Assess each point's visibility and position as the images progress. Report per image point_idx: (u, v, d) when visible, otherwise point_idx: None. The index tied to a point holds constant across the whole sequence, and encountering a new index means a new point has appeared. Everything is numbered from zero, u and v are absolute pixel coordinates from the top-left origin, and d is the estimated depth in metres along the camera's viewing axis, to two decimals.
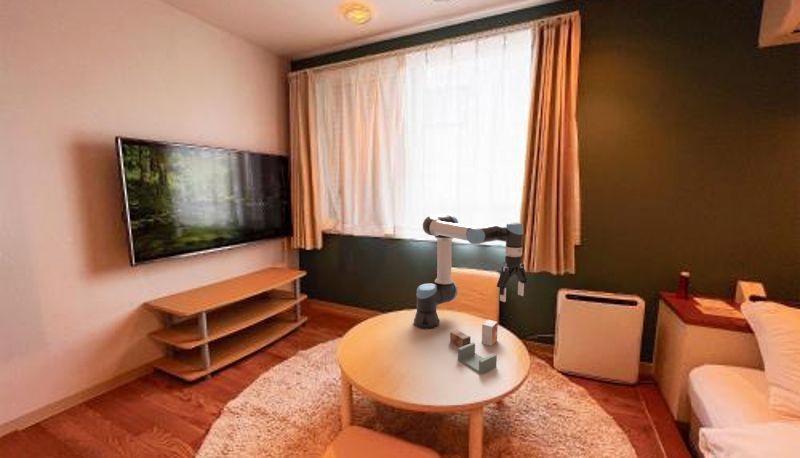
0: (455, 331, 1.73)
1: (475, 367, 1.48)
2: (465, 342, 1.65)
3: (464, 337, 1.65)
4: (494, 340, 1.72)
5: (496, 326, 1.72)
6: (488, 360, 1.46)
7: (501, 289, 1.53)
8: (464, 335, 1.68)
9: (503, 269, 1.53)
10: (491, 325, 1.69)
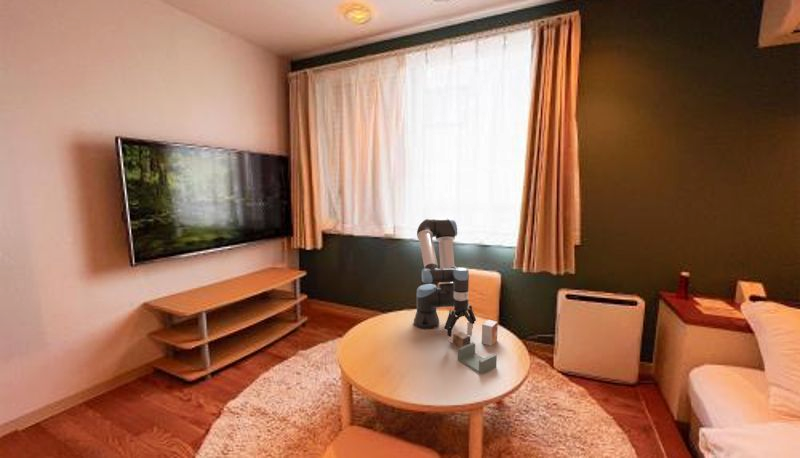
0: (455, 331, 1.73)
1: (475, 367, 1.48)
2: (465, 342, 1.65)
3: (464, 337, 1.65)
4: (494, 340, 1.72)
5: (496, 326, 1.72)
6: (488, 360, 1.46)
7: (448, 331, 1.64)
8: (464, 335, 1.68)
9: (450, 312, 1.63)
10: (491, 325, 1.69)
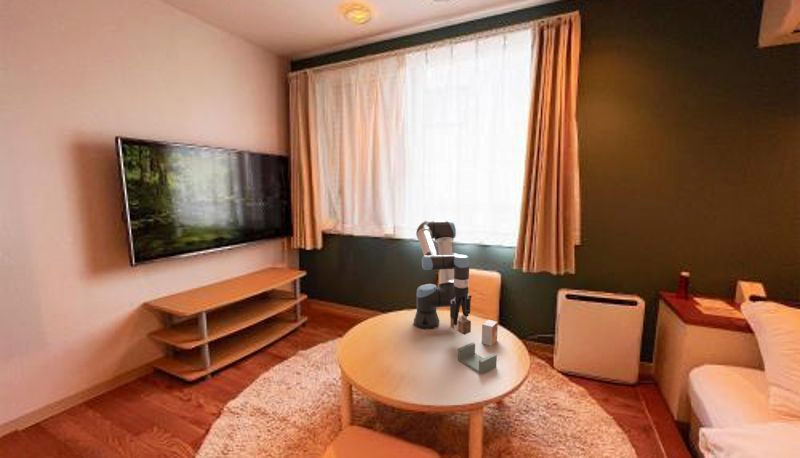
0: None
1: (475, 367, 1.48)
2: (465, 326, 1.64)
3: (464, 322, 1.65)
4: (494, 340, 1.72)
5: (496, 326, 1.72)
6: (488, 360, 1.46)
7: (454, 320, 1.66)
8: (464, 319, 1.67)
9: (451, 302, 1.63)
10: (491, 325, 1.69)
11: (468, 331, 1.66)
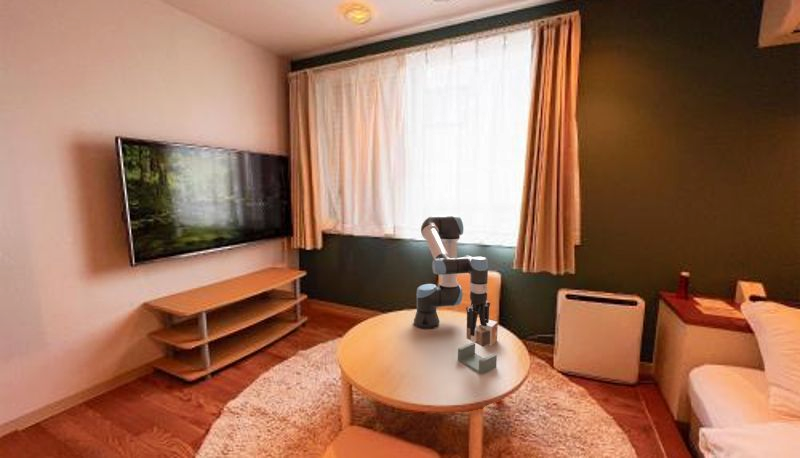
0: None
1: (475, 367, 1.48)
2: (484, 337, 1.46)
3: (483, 332, 1.46)
4: (494, 340, 1.72)
5: (496, 326, 1.72)
6: (488, 360, 1.46)
7: (471, 330, 1.48)
8: (483, 329, 1.49)
9: (468, 310, 1.45)
10: (491, 325, 1.69)
11: (487, 342, 1.47)
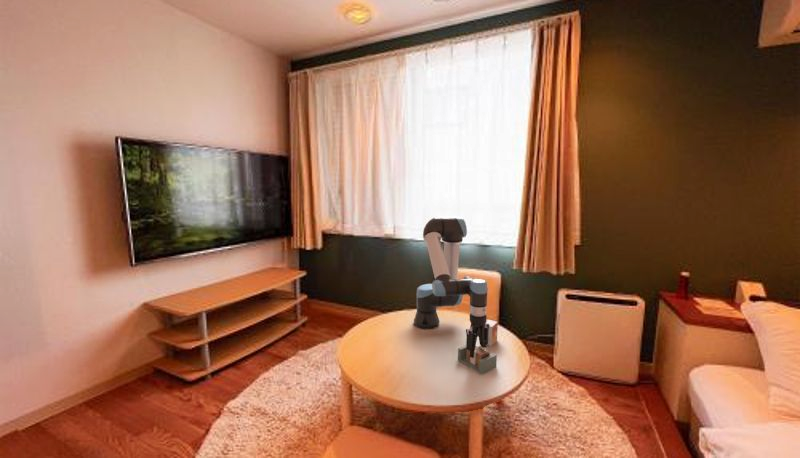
0: None
1: (475, 367, 1.48)
2: None
3: (483, 354, 1.48)
4: (494, 340, 1.72)
5: (496, 326, 1.72)
6: (488, 360, 1.46)
7: (471, 352, 1.49)
8: (482, 351, 1.50)
9: (467, 332, 1.47)
10: (491, 325, 1.69)
11: None
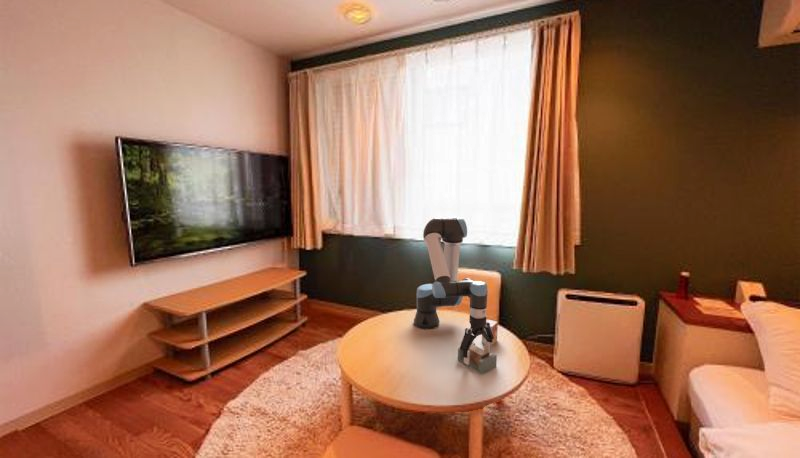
0: (472, 346, 1.55)
1: (475, 367, 1.48)
2: None
3: (483, 354, 1.48)
4: (494, 340, 1.72)
5: (496, 326, 1.72)
6: (488, 360, 1.46)
7: (464, 352, 1.47)
8: (482, 351, 1.50)
9: (467, 331, 1.47)
10: (491, 325, 1.69)
11: None
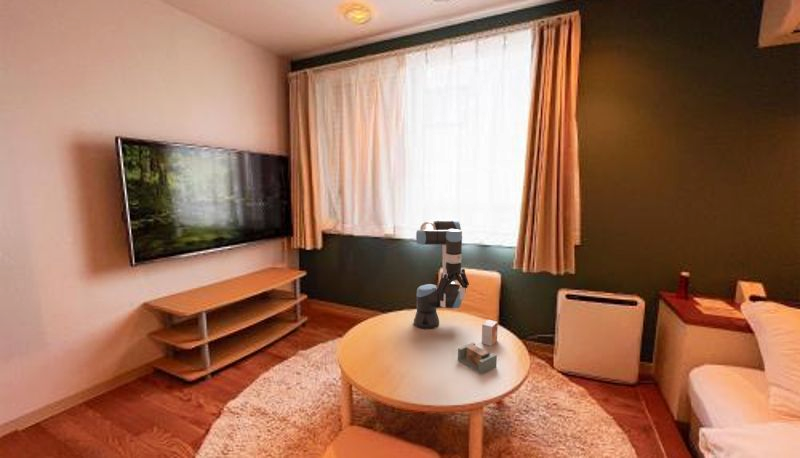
0: (472, 346, 1.55)
1: (475, 367, 1.48)
2: None
3: (483, 354, 1.48)
4: (494, 340, 1.72)
5: (496, 326, 1.72)
6: (488, 360, 1.46)
7: (440, 295, 1.56)
8: (482, 351, 1.50)
9: (443, 275, 1.55)
10: (491, 325, 1.69)
11: None
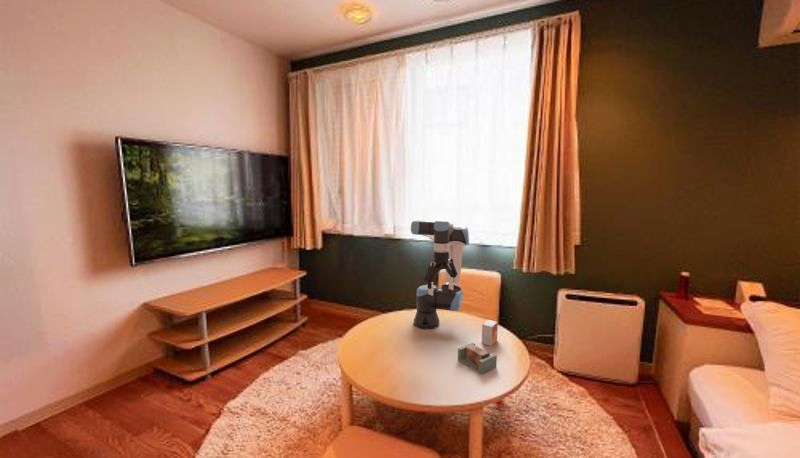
0: (472, 346, 1.55)
1: (475, 367, 1.48)
2: None
3: (483, 354, 1.48)
4: (494, 340, 1.72)
5: (496, 326, 1.72)
6: (488, 360, 1.46)
7: (428, 283, 1.61)
8: (482, 351, 1.50)
9: (430, 263, 1.60)
10: (491, 325, 1.69)
11: None
